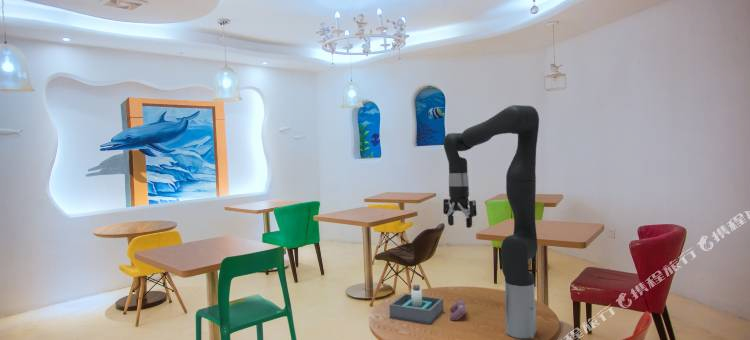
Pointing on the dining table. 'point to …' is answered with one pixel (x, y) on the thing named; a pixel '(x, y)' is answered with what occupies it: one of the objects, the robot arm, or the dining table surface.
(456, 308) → the video game controller
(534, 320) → the robot arm
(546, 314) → the dining table surface
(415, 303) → the plug
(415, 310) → the walled box
